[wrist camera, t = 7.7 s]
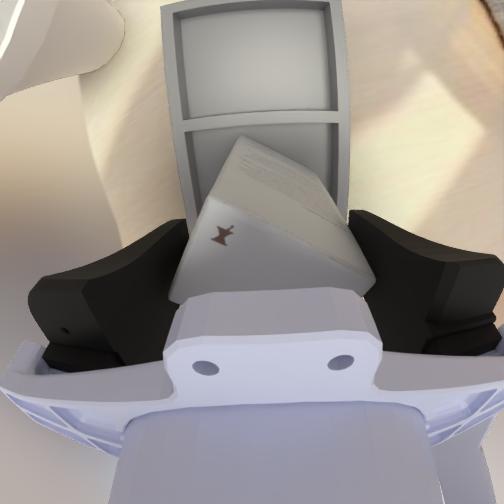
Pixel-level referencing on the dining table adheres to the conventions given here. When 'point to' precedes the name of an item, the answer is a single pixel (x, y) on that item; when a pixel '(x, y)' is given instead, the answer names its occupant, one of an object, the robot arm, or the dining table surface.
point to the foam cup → (55, 40)
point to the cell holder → (257, 88)
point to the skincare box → (268, 232)
